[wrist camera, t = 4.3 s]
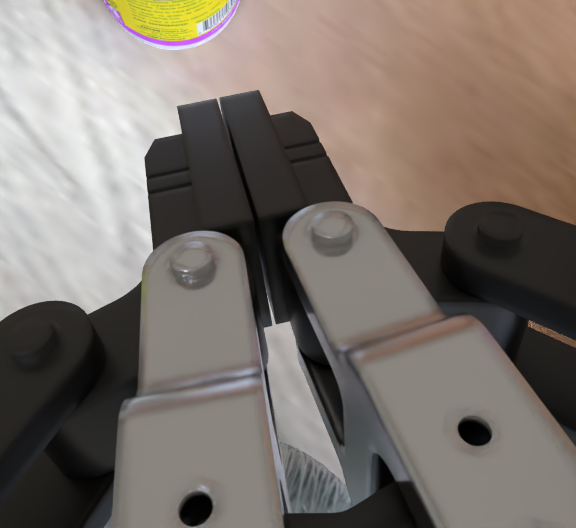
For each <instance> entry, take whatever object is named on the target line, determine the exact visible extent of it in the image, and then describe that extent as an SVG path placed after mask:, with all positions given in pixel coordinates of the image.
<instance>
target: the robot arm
mask: <svg viewBox="0 0 576 528" xmlns="http://www.w3.org/2000/svg"><path fill="white" fill-rule="evenodd" d="M220 106H221V111H222V115H221V111H220V108H219V105H218V102H217V99H211V100H206V101H201V102H196V103H191V104H186V105H181V106H177V109H178V114H179V119H180V124H181V129H182V134H179V135H174V136H169V137H164V138H159V139H155V140H154V142H153V143H152V145H151V147H150V149H149V151H148V152H147V154H146V156H145V168H146V177H147V189H148V194H149V195H148V200H149V210H150V221H151V231H152V242H153V252H152V253H151V254H150V256H149V257H148V259H147V260H146V262H145V265H144V267H143V272H142V281H141V282H140V283H139V284H138V285H137V286H136V287H135V288H134V289H133V290H131V291H130V292H129V293H127V294H126V295H124V296H123V297H121V298H119V299H118V300H116V301H114V302H112V303H110V304H108V305H106V306H104V307H102V308H100V309H98V310H96V311H94V312H92V313H90V314H88V315H87V314H86V313H85V311H84V310H82V309H81V308H80V307H79V306H77V305H74V304H72V303H69V302H65V301H45V302H40V303H36V304H33V305H30V306H27V307H24V308H22V309H20V310H18V311H16V312H14V313H12V314H11V315H9V316H7V317H6V318H5V319H3V320H2V321H1V322H0V528H104V527H105V525H106V524H107V522H108V521H109V519H110V517H111V516H112V522H111V528H576V348H574V347H572V346H570V345H568V344H565V343H563V342H561V341H559V340H556V339H554V338H552V337H550V336H548V335H545V334H543V333H541V332H539V331H536V330H534V329H532V328H530V327H528V326H527V325H528V322H529V320H531V321H533V322H535V323H537V324H540V325H542V326H544V327H546V328H549V329H551V330H553V331H556V332H558V333H560V334H562V335H565V336H567V337H569V338H571V339H574V340H576V226H575V225H572V224H569V223H567V222H564V221H561V220H558V219H555V218H552V217H549V216H546V215H543V214H540V213H538V212H535V211H532V210H529V209H526V208H523V207H520V206H517V205H513V204H509V203H504V202H479V203H474V204H470V205H467V206H465V207H462V208H460V209H459V210H457V211H456V212H454V213H453V214H452V215H451V216H450V218H449V219H448V221H447V223H446V226H445V231H444V232H441V231H400V230H394V229H390V228H386V227H383V225H382V224H381V222H380V221H379V220H378V219H377V217H376V216H375V215H374V214H373V213H371V212H370V211H369V210H367V209H365V208H363V207H361V206H358V205H356V204H353V202H352V200H351V198H350V196H349V195H348V193H347V191H346V189H345V187H344V185H343V183H342V181H341V179H340V178H339V176H338V174H337V172H336V170H335V168H334V166H333V164H332V163H331V161H330V159H329V157H328V156H327V155H326V151H325V149H324V147H323V146H322V144H321V143H320V142H319V138H318V136H317V134H316V132H315V130H314V129H313V127H312V125H311V123H310V122H308V121H307V120H305V119H304V118H302V117H300V116H299V115H297V114H296V113H294V112H293V111H290V112H285V113H280V114H276V115H271V116H270V114H269V112H268V110H267V107H266V105H265V103H264V100H263V98H262V96H261V94H260V92H259V90H255V91H250V92H245V93H240V94H235V95H230V96H225V97H220ZM222 117H223V118H222ZM266 291H267V292H266ZM267 295H268V298H269V302H270V305H271V308H272V312H273V315H274V319H275V322H276V324H280V323H284V322H288V321H290V323H291V326H292V329H293V332H294V335H295V339H296V346H297V354H298V359H299V363H300V365H301V368H302V370H303V373H304V375H305V378H306V380H307V382H308V385H309V387H310V390H311V392H312V395H313V397H314V399H315V402H316V404H317V407H318V409H319V412H320V414H321V416H322V419H323V421H324V424H325V426H326V429H327V431H328V434H329V436H330V438H331V441H332V443H333V446H334V448H335V451H336V453H337V456H338V458H339V461H340V464H341V467H342V470H343V474H344V478H345V482H346V486H347V490H348V493H349V496H350V500H351V503H352V506H353V507H351V508H349V509H347V510H345V511H342V512H335V513H292V512H291V506H290V501H289V495H288V490H287V484H286V479H285V473H284V467H283V461H282V455H281V448H280V442H279V436H278V430H277V424H276V418H275V412H274V406H273V399H272V393H271V387H270V381H269V375H268V369H267V363H268V348H267V343H266V338H265V333H264V328H265V327H269V326H272V321H271V315H270V310H269V304H268V298H267Z"/></svg>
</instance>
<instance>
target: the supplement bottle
mask: <svg viewBox="0 0 576 528" xmlns="http://www.w3.org/2000/svg"><path fill="white" fill-rule="evenodd" d="M103 1H104V3H105V5H106V7H107V8H108V10H109V12H110V13H111V15H112V16H113V18H114V19H115V20H116V22H117V23H118V24H119V25H120V26H121V27H122V28H123V29H124V30H125V31H126V32H127V33H129V34H130V35H131V36H133V37H134V38H136V39H137V40H139V41H141V42H143V43H145V44H147V45H150V46H153V47H156V48H161V49H166V50H180V49H188V48H193V47H196V46H199V45H202V44H204V43H206V42H208V41H210V40H211V39H213V38H214V37H216V36H217V35H218V34H219V33H220V32H222V31H223V29H224V28H225V27H226V26H227V25H228V24H229V22H230V21H231V19H232V18H233V16H234V14H235V12H236V10H237V8H238V5H239V2H240V0H103Z"/></svg>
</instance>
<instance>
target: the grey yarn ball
mask: <svg viewBox="0 0 576 528" xmlns="http://www.w3.org/2000/svg"><path fill="white" fill-rule="evenodd" d="M280 448H281V455H282V461H283V467H284V473H285V479H286V484H287V490H288V495H289V501H290V506H291V512H292V513H335V512H342V511H345V510H347V509H349V508H351V507H353V506H352V503H351V500H350V496H349V493H348V490H347V487H346V486H345V485H344V484H343V483H342V482H341V481H340V479H339V478H338V477H336V476H335V475H334V474H333V473H332V472H330V471H329V470H328V469H327V468H326V467H325V466H324V465H322V464H321V463H319V462H318V461H316V460H315V459H313V458H312V457H310V456H309V455H307V454H306V453H304V452H302V451H300V450H298V449H296V448H294V447H291V446H289V445H287V444H284V443H282V442H280ZM111 522H112V516H111V517H110V519H109V521H108V522H107V524H106V525H105V527H104V528H111Z"/></svg>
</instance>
